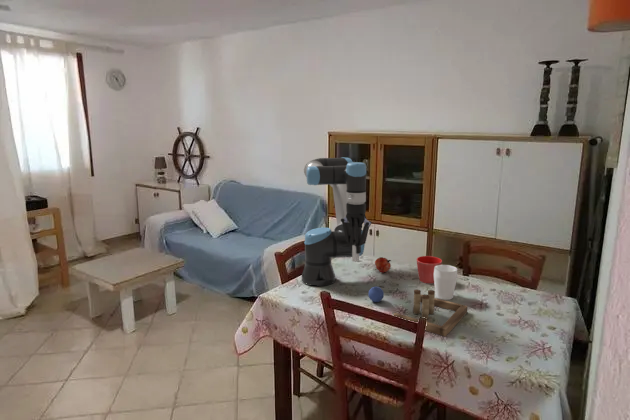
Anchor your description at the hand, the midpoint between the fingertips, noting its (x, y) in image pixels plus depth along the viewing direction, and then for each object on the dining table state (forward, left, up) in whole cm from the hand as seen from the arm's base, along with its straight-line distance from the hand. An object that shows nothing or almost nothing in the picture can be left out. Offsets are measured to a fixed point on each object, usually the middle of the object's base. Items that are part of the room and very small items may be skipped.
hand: (355, 260), depth 167 cm
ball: (+9, 0, -12) cm, 15 cm away
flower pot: (+17, +33, -15) cm, 40 cm away
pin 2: (+31, +3, -15) cm, 34 cm away
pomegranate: (-5, +31, -15) cm, 35 cm away
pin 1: (+31, -2, -15) cm, 34 cm away
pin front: (+26, 0, -15) cm, 30 cm away
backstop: (+31, 0, -15) cm, 35 cm away
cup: (+29, +20, -15) cm, 39 cm away
